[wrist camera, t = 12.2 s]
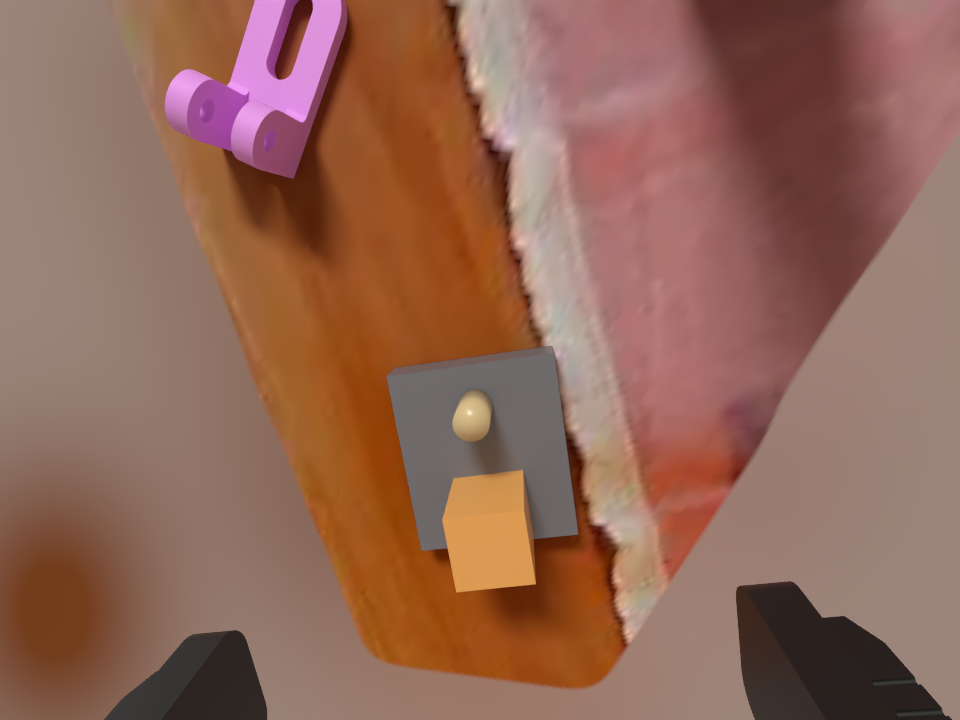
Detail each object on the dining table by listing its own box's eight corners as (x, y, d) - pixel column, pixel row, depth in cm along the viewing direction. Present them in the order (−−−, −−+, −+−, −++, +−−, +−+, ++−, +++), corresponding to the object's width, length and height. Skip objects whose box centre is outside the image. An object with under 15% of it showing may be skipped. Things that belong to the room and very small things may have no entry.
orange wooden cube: (523, 469, 39) (524, 510, 33) (533, 533, 40) (535, 584, 34) (453, 478, 39) (442, 520, 33) (465, 541, 40) (456, 592, 34)
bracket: (294, 179, 38) (245, 166, 31) (222, 145, 38) (157, 124, 31) (360, -10, 35) (322, -70, 28) (283, -48, 35) (225, -117, 28)
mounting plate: (552, 345, 39) (558, 366, 33) (574, 517, 42) (584, 566, 36) (394, 368, 40) (371, 391, 34) (427, 533, 43) (411, 583, 37)
